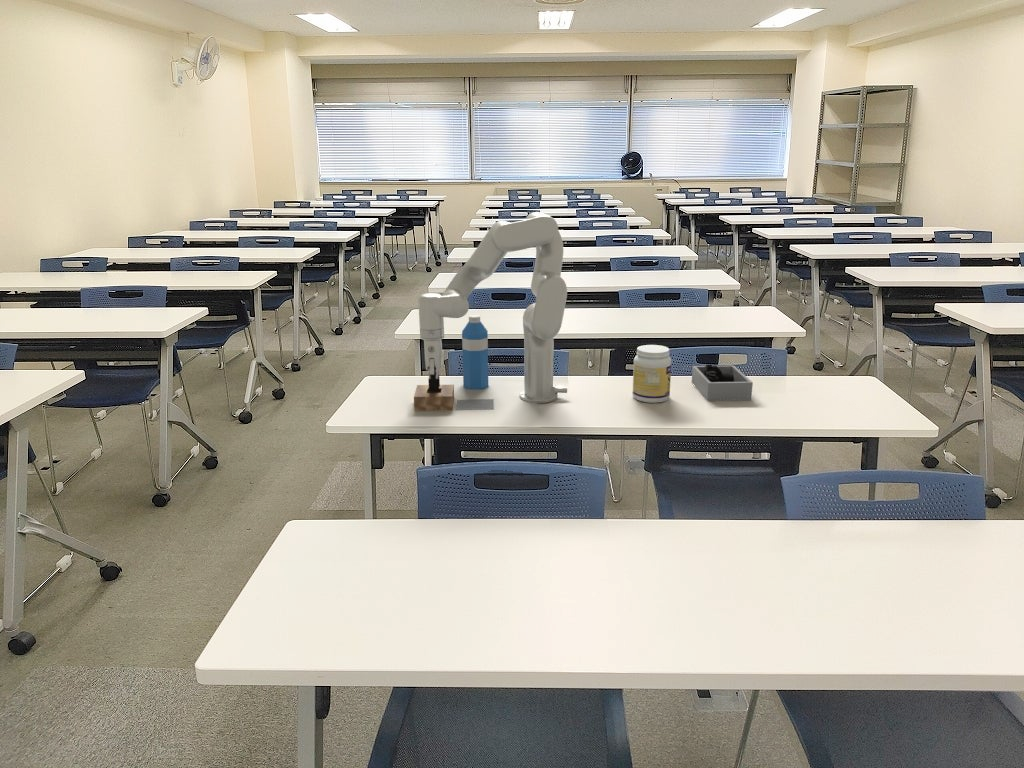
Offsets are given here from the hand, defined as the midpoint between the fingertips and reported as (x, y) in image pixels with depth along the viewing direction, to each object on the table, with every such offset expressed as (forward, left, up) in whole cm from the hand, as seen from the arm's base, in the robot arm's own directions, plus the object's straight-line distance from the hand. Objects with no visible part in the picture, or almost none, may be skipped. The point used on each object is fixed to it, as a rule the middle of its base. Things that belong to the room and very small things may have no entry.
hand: (434, 388), depth 237 cm
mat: (-13, +1, -6) cm, 14 cm away
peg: (0, 0, -3) cm, 3 cm away
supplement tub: (-71, -4, -6) cm, 71 cm away
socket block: (0, 0, -6) cm, 6 cm away
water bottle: (-13, -19, -6) cm, 24 cm away
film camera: (-95, -10, -6) cm, 96 cm away
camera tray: (-96, -10, -6) cm, 97 cm away
